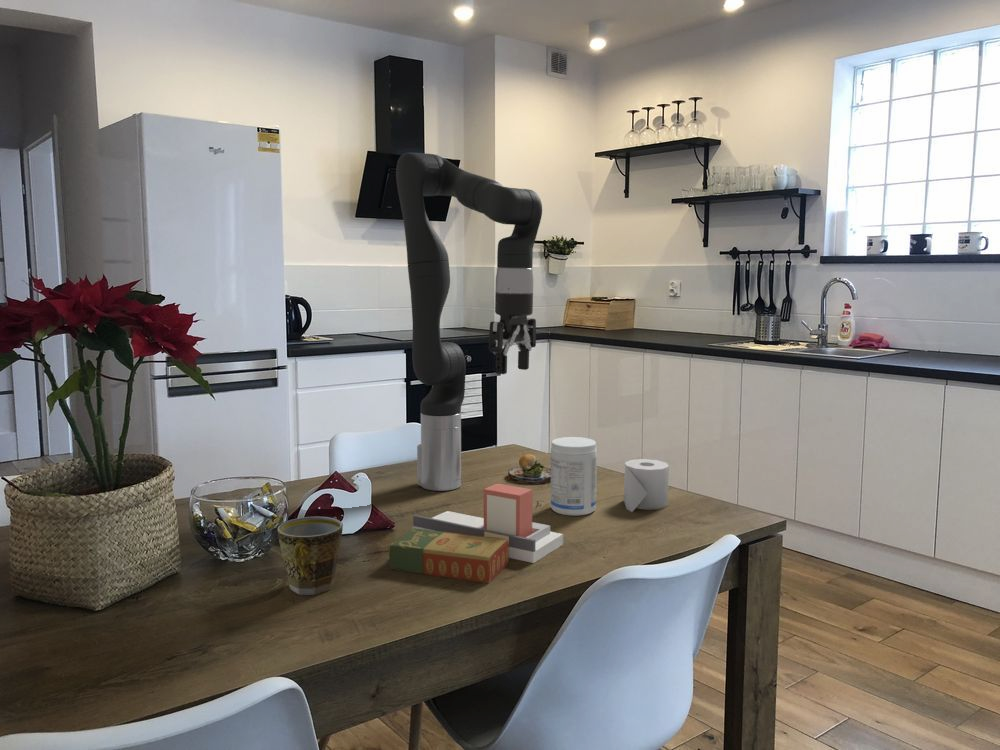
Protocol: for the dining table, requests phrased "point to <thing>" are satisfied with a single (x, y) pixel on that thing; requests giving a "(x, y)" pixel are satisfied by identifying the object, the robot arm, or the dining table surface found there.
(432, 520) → the shelf strip
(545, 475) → the burger
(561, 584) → the dining table surface
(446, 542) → the carton
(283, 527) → the ceramic cup
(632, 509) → the toilet tissue
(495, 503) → the tea box
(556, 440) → the supplement tub
